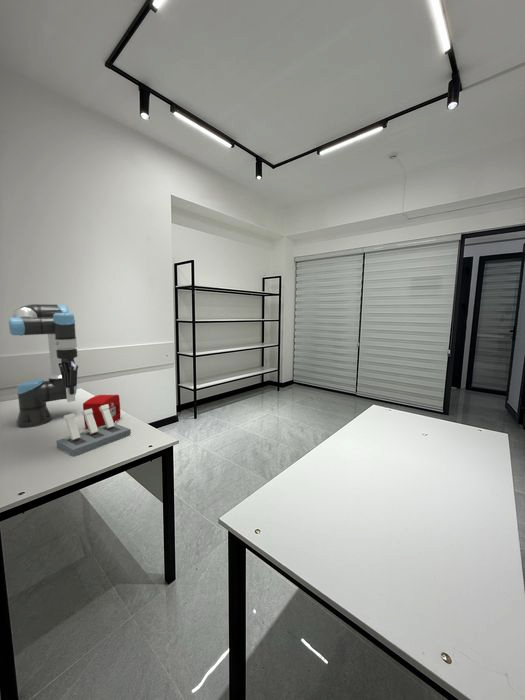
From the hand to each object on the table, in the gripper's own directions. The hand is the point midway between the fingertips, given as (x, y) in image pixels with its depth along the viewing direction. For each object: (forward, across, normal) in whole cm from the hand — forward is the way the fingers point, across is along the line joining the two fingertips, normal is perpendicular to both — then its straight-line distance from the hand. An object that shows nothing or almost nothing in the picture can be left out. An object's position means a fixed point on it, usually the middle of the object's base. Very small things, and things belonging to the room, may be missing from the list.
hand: (71, 401), depth 129 cm
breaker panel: (+21, +2, +8) cm, 23 cm away
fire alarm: (+22, -16, +21) cm, 34 cm away
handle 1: (+18, +2, +8) cm, 20 cm away
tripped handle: (+18, +2, 0) cm, 18 cm away
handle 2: (+18, +2, +16) cm, 24 cm away
